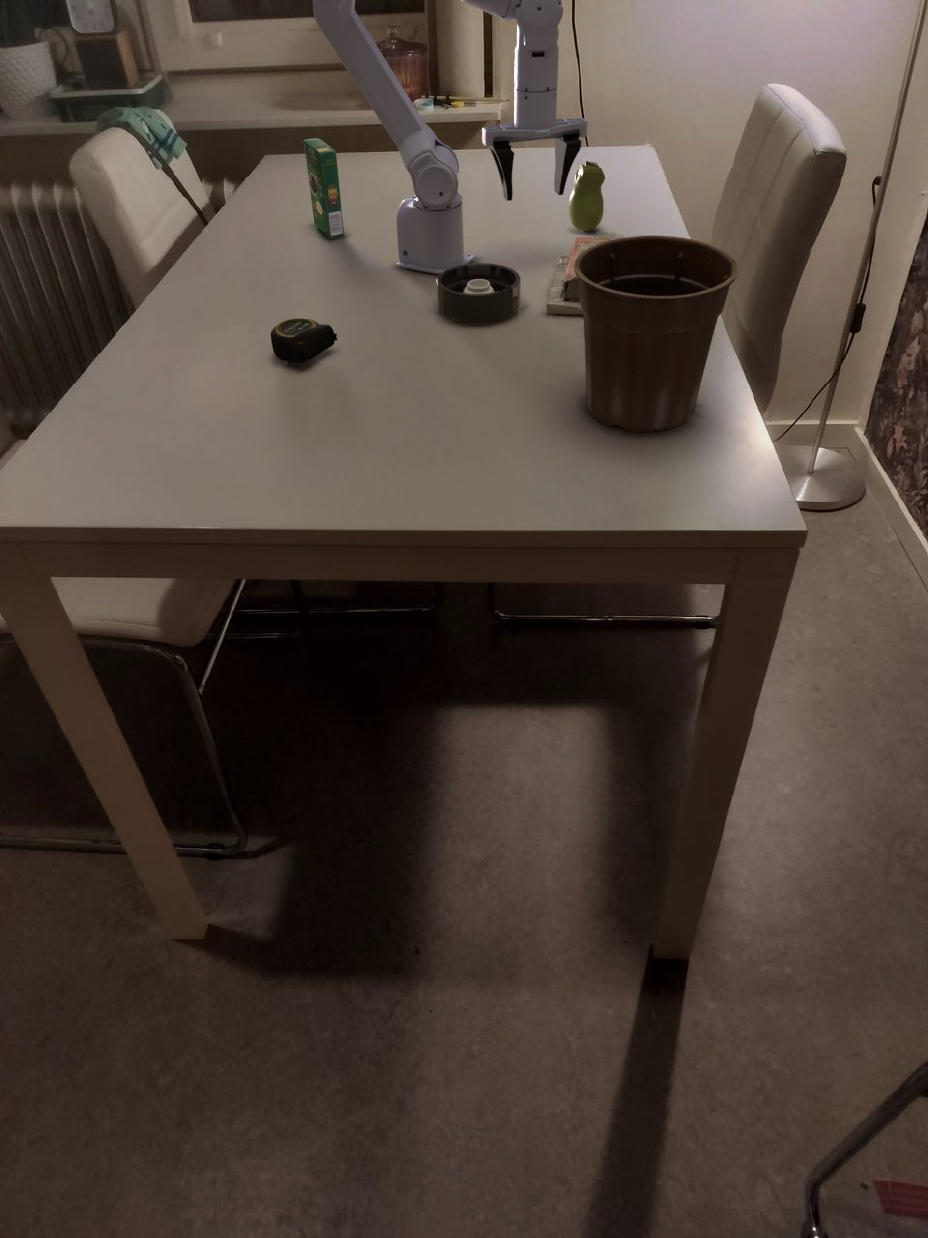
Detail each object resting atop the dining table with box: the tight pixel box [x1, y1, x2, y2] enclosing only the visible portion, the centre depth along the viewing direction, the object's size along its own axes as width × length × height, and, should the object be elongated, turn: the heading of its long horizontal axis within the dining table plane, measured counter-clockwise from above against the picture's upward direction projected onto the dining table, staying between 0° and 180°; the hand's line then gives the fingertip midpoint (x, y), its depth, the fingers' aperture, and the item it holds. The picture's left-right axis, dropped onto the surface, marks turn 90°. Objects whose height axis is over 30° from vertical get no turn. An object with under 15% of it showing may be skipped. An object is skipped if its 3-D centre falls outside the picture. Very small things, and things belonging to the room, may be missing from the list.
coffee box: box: [303, 137, 345, 240], centre depth 140 cm, size 8×3×13 cm, turn 26°
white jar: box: [463, 279, 494, 294], centre depth 119 cm, size 5×3×5 cm
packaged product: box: [546, 236, 612, 315], centre depth 122 cm, size 18×5×10 cm
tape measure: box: [270, 317, 338, 364], centre depth 110 cm, size 7×7×4 cm
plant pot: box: [574, 235, 739, 433], centre depth 94 cm, size 16×16×16 cm
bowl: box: [435, 262, 522, 324], centre depth 119 cm, size 11×11×4 cm
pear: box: [568, 160, 606, 232], centre depth 139 cm, size 6×5×10 cm
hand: (533, 195), depth 126 cm, fingers open, 7 cm apart
